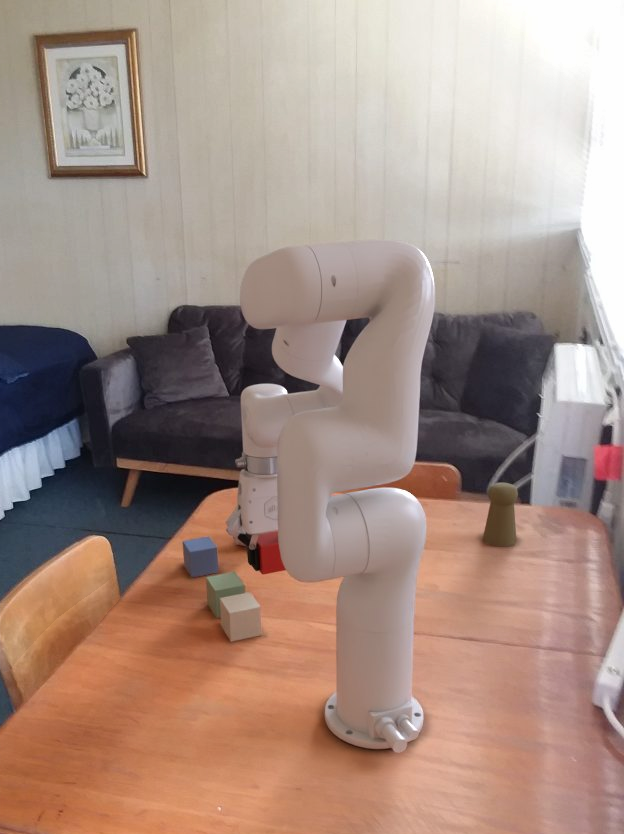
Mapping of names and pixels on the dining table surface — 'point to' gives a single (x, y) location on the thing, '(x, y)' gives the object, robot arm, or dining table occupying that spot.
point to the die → (238, 528)
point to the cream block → (240, 616)
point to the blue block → (200, 556)
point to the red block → (269, 553)
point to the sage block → (222, 589)
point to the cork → (501, 515)
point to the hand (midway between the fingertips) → (271, 563)
